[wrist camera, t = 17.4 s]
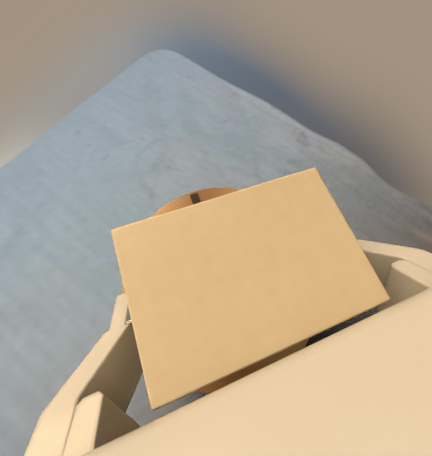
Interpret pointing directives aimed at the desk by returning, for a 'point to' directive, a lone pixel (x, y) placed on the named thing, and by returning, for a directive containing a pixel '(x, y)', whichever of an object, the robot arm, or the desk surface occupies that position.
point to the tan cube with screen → (239, 281)
